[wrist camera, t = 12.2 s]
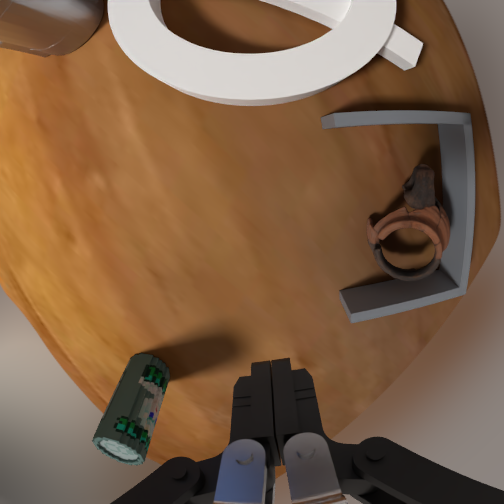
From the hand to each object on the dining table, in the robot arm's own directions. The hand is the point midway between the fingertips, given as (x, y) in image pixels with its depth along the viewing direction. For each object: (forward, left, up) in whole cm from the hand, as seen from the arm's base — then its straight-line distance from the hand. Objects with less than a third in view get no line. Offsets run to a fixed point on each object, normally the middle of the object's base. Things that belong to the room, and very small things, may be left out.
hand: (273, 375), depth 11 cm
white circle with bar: (+3, +26, -21) cm, 34 cm away
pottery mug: (+16, -1, -21) cm, 26 cm away
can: (-20, -18, -21) cm, 34 cm away
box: (+15, 0, -21) cm, 26 cm away
